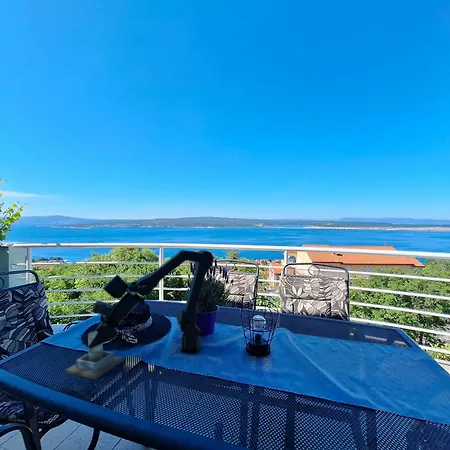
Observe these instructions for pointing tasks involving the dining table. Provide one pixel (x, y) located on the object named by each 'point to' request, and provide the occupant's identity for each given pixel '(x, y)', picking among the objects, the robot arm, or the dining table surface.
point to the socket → (94, 365)
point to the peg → (94, 349)
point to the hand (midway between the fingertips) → (91, 342)
